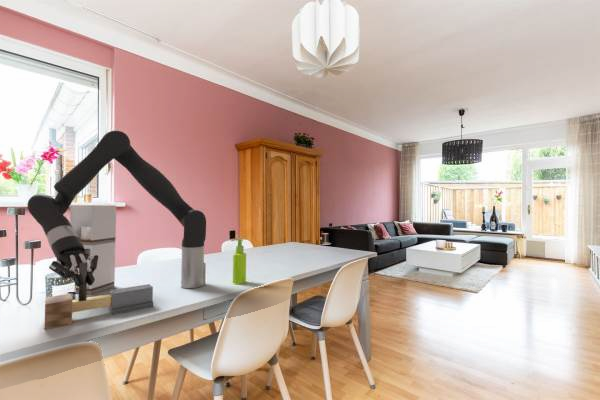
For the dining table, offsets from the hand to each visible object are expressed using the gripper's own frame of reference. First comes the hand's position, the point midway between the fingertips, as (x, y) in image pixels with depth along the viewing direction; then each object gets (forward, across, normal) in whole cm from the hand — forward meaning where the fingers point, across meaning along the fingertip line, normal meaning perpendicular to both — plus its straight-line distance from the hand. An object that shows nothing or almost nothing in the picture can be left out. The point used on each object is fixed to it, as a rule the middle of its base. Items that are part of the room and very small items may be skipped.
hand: (86, 284), depth 88 cm
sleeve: (+10, +12, +5) cm, 16 cm away
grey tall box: (-15, +20, +30) cm, 39 cm away
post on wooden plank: (+5, +3, +6) cm, 8 cm away
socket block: (+4, -5, +10) cm, 12 cm away
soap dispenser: (+19, +54, -4) cm, 58 cm away
